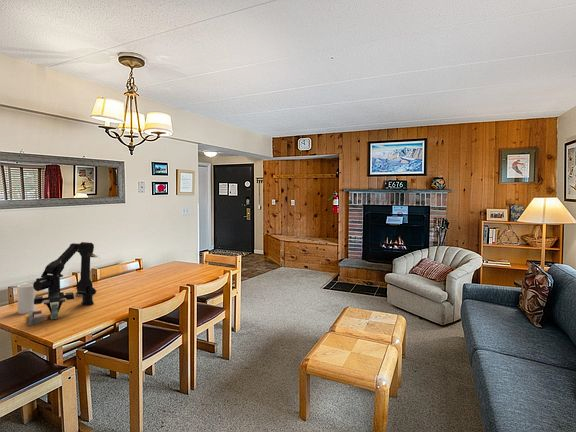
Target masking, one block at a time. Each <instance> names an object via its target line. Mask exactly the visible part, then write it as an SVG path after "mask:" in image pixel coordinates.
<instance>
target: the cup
mask: <svg viewBox="0 0 576 432" xmlns="http://www.w3.org/2000/svg"><path fill="white" fill-rule="evenodd" d="M33 284H34V282H28V283H21V284H19V285H17V288H16V290H17V313H18V314H20V315H26V314H29V311H30V310H33V311H36V304H34V298H35V297H36V290H35V289H34V288H33Z"/></svg>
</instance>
